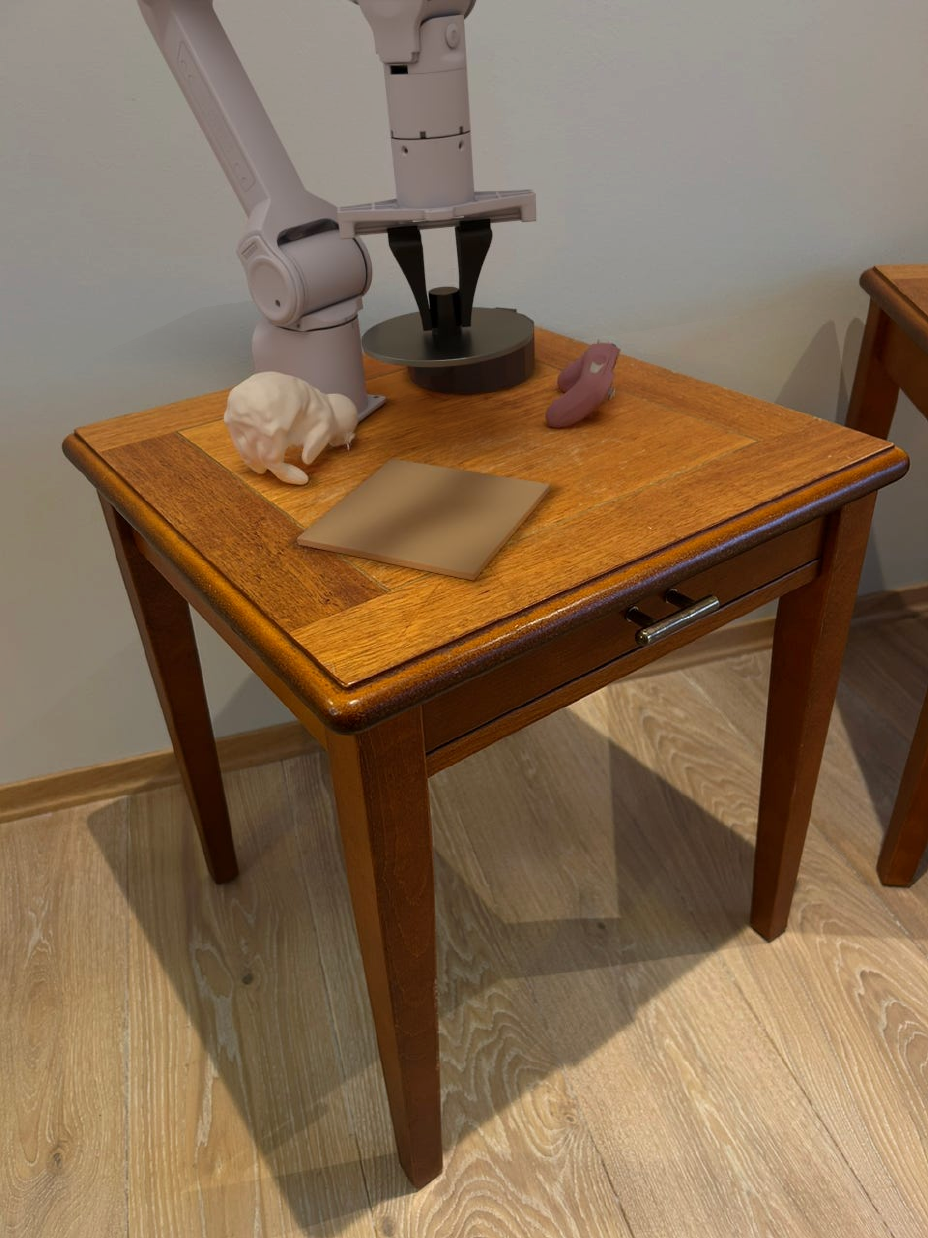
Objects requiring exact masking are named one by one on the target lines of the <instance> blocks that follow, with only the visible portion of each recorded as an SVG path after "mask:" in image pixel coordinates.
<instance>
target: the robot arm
mask: <svg viewBox="0 0 928 1238" xmlns="http://www.w3.org/2000/svg"><path fill="white" fill-rule="evenodd" d="M348 1H349V2H350V3H352V4H354V5H357V6H359V8H360V10H361V13H362V15H363V16H364V19H365V20H366V22H367V23H368V25H369V26H370V29H371V31H372V34H373V39H374V49H375V54H377V55H378V59H379V61H380V63H382V66H383V75H384V87H385V95H386V96H385V97H386V106H387V116H388V126H389V134H390V135H389V136H390V146H391V156H392V165H393V175H394V186H395V187H394V188H395V196H396V198H392V199H385V200H378V201H372V202H366V203H360V204H352V205H343V206H338V207H337V206H336V205H334V204H333V203H331V202H329V201H327V200H326V199H324V198H321V197H319V196H318V195H315V194H314V193H313V192H310V191H309V190H307V189H306V187H305V186H304V184H303V181H302V180H301V178H300V176H299V174H298V172H297V170H296V168H295V166H294V164H293V163H292V160H291V158H290V156H289V154H288V152H287V151H286V148H285V146H284V145H283V142H282V140H281V139H280V136H279V135H278V133H277V130H276V128H275V126H274V125H273V123H272V121H271V119H270V117H269V115H268V113H267V111H266V109H265V107H264V105H263V103H262V101H261V99H260V97H259V96H258V93H257V91H256V89H255V88H254V86H253V84H252V81H251V80H250V78H249V76H248V74H247V71H246V69H245V68H244V66H243V64H242V62H241V60H240V58H239V56H238V54H237V52H236V50H235V48H234V46H233V45H232V43H231V40H230V38H229V37H228V35H227V32H226V31H225V28H224V27H223V25H222V23H221V21H220V18H219V17H218V15H217V13H216V11H215V9H214V4H213V3H214V0H136V2H137V5H138V8H139V10H140V12H141V16H142V18H143V20H144V22H145V24H146V27H147V28H148V30H149V32H150V34H151V36H152V38H153V40H154V42H155V44H156V45H157V47H158V49H159V51H160V53H161V55H162V56H163V59H164V61H165V63H166V65H167V66H168V69H169V70H170V72H171V74H172V76H173V78H174V80H175V81H176V84H177V86H178V87H179V89H180V91H181V93H182V95H183V97H184V98H185V101H186V102H187V105H188V107H189V108H190V111H191V113H192V114H193V116H194V118H195V120H196V121H197V123H198V126H199V127H200V129H201V131H202V133H203V135H204V137H205V139H206V140H207V142H208V144H209V146H210V148H211V151H212V152H213V154H214V156H215V158H216V160H217V161H218V164H219V165H220V168H221V169H222V172H223V173H224V176H226V178H227V181H228V182H229V185H230V187H231V188H232V190H233V193H234V194H235V196H236V198H237V199H238V201H239V204H240V205H241V208H242V209H243V211H244V213H245V215H246V217H247V223H246V224H245V227H244V229H243V231H242V234H241V236H240V239H239V241H238V244H237V247H236V255H237V258H238V259H239V261H240V263H241V265H242V267H243V270H244V272H245V276H246V280H247V285H248V291H249V294H250V297H251V300H252V301H253V303H254V304H255V306H256V308H257V310H258V311H259V312H260V313H261V314H262V317H261V318H260V319H259V320H258V321H257V323H256V325H255V327H254V329H253V331H252V332H253V333H252V338H251V354H252V355H251V356H252V361H253V368H254V372H255V373H254V374H258V373H262V372H278V373H282V374H285V375H290V376H293V377H296V378H299V379H301V380H303V381H305V382H307V383H309V384H310V386H312V387H314V388H316V389H318V390H319V391H320V392H321V393H324V394H341V395H344V396H346V397H348V398H349V399H350V400H351V401H352V402H353V404H354V405H355V407H356V409H357V412H358V423H360V422H361V421H362V420H364V419H365V418H367V417H368V416H369V415H371V414H372V413H374V412H375V411H377V409H379V408H380V407H381V406H383V405H384V404H386V402H387V397H386V396H384V395H379V394H378V395H377V394H370V393H368V390H367V382H366V381H367V380H366V372H365V364H364V355H363V349H362V343H361V340H362V336H361V329H360V321H359V320H360V319H359V314H358V312H359V311H361V310H363V309H364V303H363V297H364V296H366V295H367V293H368V292H369V290H370V288H371V285H372V281H373V275H374V274H373V262H372V258H371V255H370V252H369V250H368V248H367V246H366V244H365V242H364V240H363V239H362V238H361V237H362V236H369V235H370V236H371V235H381V234H382V235H383V234H387V241H388V247H389V249H390V251H391V253H392V255H393V257H394V259H395V260H396V262H397V264H398V266H399V268H400V270H401V271H402V273H403V275H404V277H405V280H406V281H407V283H408V286H409V288H410V290H411V292H412V296H413V297H414V300H415V303H416V306H417V308H418V312H420V316H421V320H422V326H423V331H431V330H432V320H431V313H430V307H429V295H428V290H427V281H426V268H425V256H424V245H423V240H422V234H421V233H422V232H421V231H423V230H435V229H444V228H445V229H447V228H454V235H455V247H456V257H457V269H458V289H459V294H460V308H461V325H462V327H470V326H471V315H472V307H474V299H475V295H476V290H477V285H478V282H479V278H480V275H481V271H482V269H483V265H484V263H485V261H486V257H487V255H488V253H489V251H490V248H491V245H492V241H493V237H494V236H493V235H494V234H493V229H492V225H491V224H497V223H498V224H499V223H509V222H519V221H520V222H522V223H530V222H532V223H533V222H537V196H536V195H537V194H536V192H534V190H533V189H532V188H528V189H513V190H482V191H481V190H480V191H479V190H478V191H477V190H476V191H475V180H474V178H475V177H474V165H473V163H474V162H473V149H472V147H473V146H472V131H471V130H472V129H471V127H472V126H471V111H470V97H469V96H470V95H469V80H468V79H469V78H468V64H467V63H468V61H467V48H466V47H467V45H466V30H465V21H466V19H467V18H468V17H469V16H470V14H471V13H472V11H473V10H474V8H475V5H476V3H477V0H348ZM360 236H361V237H360Z"/></svg>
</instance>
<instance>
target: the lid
mask: <svg viewBox="0 0 928 1238" xmlns="http://www.w3.org/2000/svg"><path fill="white" fill-rule="evenodd" d="M427 296H428V302H429V308H430V313H431V320H432V330H431V331H423V326H422V320H421V316H420V312H419V311H413V312H409V313H405V314H401V315H397V316H394V317H391V318H389V319H388V318H387V319H385V320H383V321H381V322H379V323H376V324H375V325H373V326H371V327H370V328H369V329H367V330H366V331H365V332H364V333H363V335H361V345H362V352H364V353H365V355H367V356H369V358H371V359H373V360H375V361H379V362H382V363H386V364H389V365H395V366H403V367H407V366H411V367H445V366H457V365H465V364H471V363H477V362H482V361H487V360H491V359H494V358H498V357H501V356H504V355H507V354H509V353H512V352H514V351H516V350H518V349H520V348H522V347H523V346H525V345H526V344H527V343H528V342H529V341H530V340H531V339H532V337H533V333H534V334H535V331H534V332H533V324H532V323H531V321H530V320H528V319H527V318H526V317H524V316H522V315H519V314H517V313H518V312H517V313H514V312H510V311H506V310H501V309H494V307H483V306H482V307H481V306H479V307H478V306H472V315H471V326H470V327H462V325H461V308H460V294H459V287H456V286H438V287H433V288H431V289H429V290H428V291H427Z"/></svg>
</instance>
